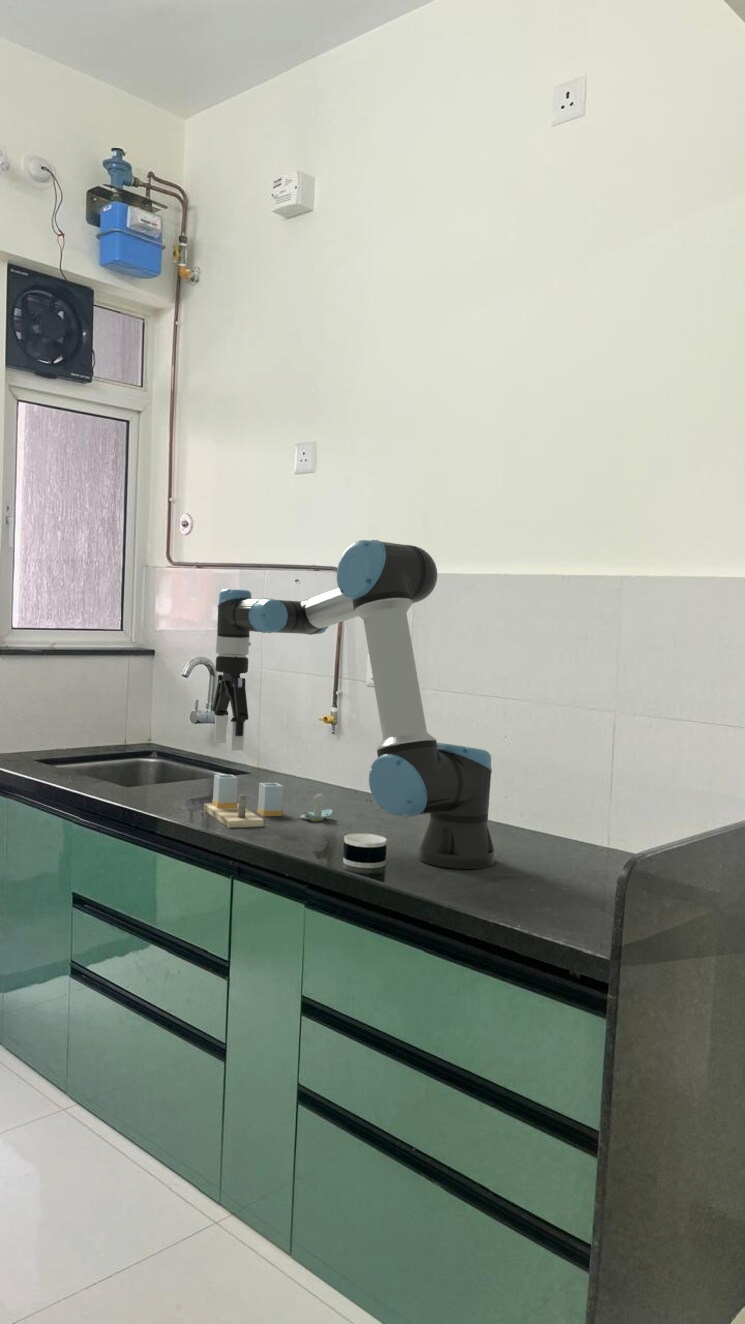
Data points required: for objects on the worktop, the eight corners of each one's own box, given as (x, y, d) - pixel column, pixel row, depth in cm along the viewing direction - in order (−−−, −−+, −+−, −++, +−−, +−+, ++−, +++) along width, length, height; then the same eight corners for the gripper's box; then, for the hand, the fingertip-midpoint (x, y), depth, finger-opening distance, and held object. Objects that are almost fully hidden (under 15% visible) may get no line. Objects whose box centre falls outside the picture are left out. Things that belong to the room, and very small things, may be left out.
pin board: (263, 826, 224) (264, 797, 223) (228, 827, 220) (230, 798, 220) (236, 809, 242) (237, 782, 242) (203, 809, 238) (205, 782, 238)
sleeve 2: (282, 815, 237) (284, 786, 237) (263, 816, 235) (265, 786, 235) (275, 811, 241) (277, 782, 241) (257, 812, 239) (258, 783, 239)
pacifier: (294, 818, 236) (308, 822, 231) (295, 792, 236) (309, 795, 231) (321, 816, 240) (335, 820, 235) (322, 790, 240) (336, 794, 235)
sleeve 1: (237, 807, 236) (238, 777, 236) (217, 808, 234) (219, 778, 234) (231, 803, 240) (232, 774, 240) (211, 804, 238) (213, 774, 238)
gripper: (265, 658, 226) (260, 753, 226) (232, 653, 248) (228, 739, 249) (232, 657, 223) (228, 753, 223) (202, 652, 245) (198, 739, 246)
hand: (228, 746), depth 236 cm, fingers open, 13 cm apart
